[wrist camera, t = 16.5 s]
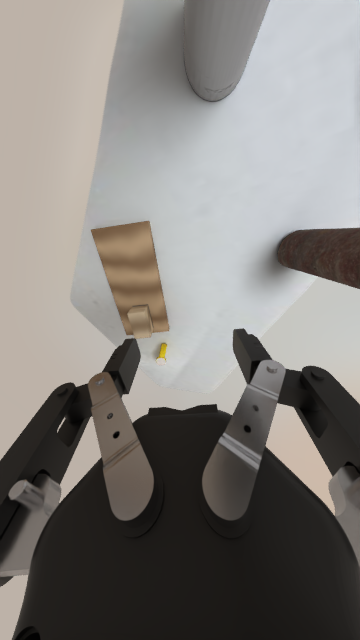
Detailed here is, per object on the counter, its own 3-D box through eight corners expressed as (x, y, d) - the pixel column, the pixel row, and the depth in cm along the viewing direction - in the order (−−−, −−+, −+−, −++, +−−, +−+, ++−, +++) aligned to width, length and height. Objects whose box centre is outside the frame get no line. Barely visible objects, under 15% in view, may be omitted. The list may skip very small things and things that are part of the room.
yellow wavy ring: (160, 339, 48) (157, 351, 42) (169, 341, 48) (168, 353, 42) (156, 355, 50) (154, 368, 44) (165, 357, 50) (163, 370, 45)
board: (94, 229, 34) (90, 229, 32) (149, 221, 33) (148, 220, 32) (128, 332, 46) (126, 335, 45) (169, 328, 45) (168, 331, 44)
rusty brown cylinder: (267, 250, 35) (351, 267, 17) (298, 220, 32) (435, 204, 15) (287, 273, 37) (379, 308, 20) (317, 247, 35) (455, 260, 17)
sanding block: (132, 305, 40) (127, 313, 36) (148, 304, 40) (144, 311, 36) (139, 329, 44) (135, 338, 40) (153, 327, 43) (150, 337, 39)
